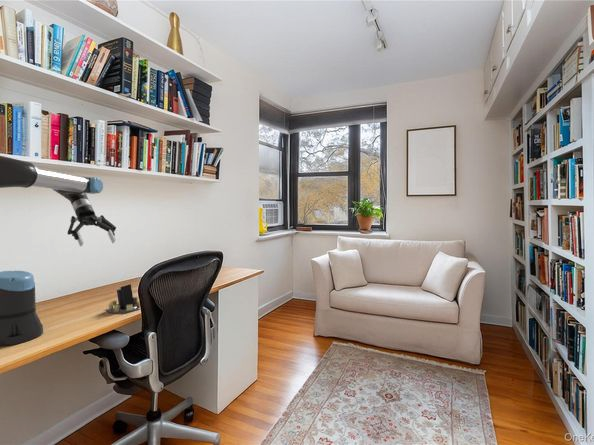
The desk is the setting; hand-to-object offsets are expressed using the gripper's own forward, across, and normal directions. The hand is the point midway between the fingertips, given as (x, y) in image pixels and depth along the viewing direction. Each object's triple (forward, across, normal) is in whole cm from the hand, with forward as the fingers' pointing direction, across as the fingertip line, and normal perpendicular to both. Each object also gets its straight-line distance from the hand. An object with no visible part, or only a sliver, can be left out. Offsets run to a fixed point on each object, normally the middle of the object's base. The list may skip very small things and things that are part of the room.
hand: (98, 242), depth 150 cm
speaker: (+30, -5, -11) cm, 32 cm away
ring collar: (+30, -5, -12) cm, 33 cm away
